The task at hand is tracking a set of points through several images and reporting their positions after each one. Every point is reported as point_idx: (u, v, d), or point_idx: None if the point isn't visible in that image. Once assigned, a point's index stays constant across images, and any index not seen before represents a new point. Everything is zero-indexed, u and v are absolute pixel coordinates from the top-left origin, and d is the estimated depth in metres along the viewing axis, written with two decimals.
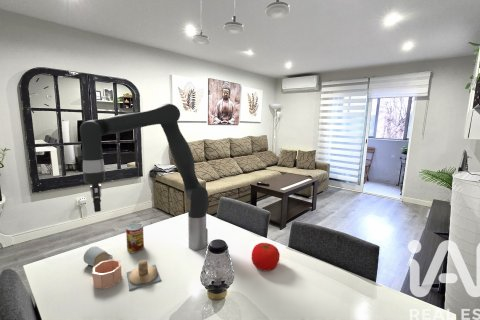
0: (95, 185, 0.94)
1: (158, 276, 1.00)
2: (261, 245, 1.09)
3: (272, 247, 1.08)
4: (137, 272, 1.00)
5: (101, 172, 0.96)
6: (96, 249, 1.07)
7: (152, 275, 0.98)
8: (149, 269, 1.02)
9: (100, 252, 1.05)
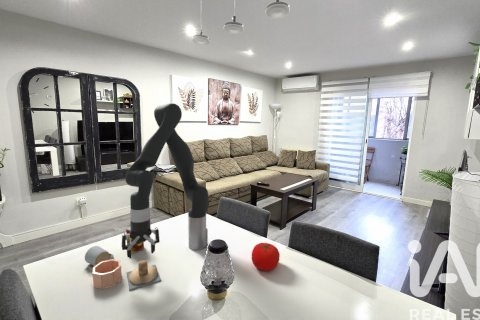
0: None
1: (158, 276, 1.00)
2: (261, 245, 1.09)
3: (272, 247, 1.08)
4: (137, 272, 1.00)
5: None
6: (97, 248, 1.07)
7: (152, 275, 0.98)
8: (149, 269, 1.02)
9: (101, 251, 1.06)
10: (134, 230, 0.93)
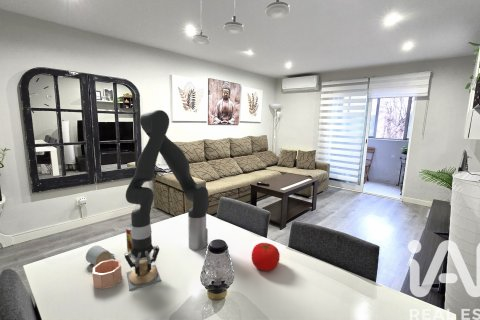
0: None
1: (158, 276, 1.00)
2: (261, 245, 1.09)
3: (272, 247, 1.08)
4: None
5: None
6: (98, 248, 1.08)
7: (152, 275, 0.98)
8: None
9: (102, 251, 1.06)
10: (136, 247, 0.94)
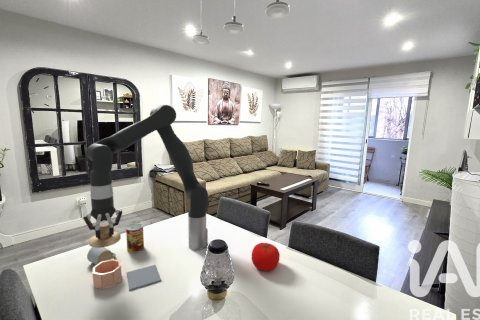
0: (113, 207, 0.95)
1: (158, 276, 1.00)
2: (261, 245, 1.09)
3: (272, 247, 1.08)
4: None
5: None
6: None
7: (114, 239, 0.94)
8: (112, 235, 0.97)
9: (103, 250, 1.07)
10: (95, 207, 0.89)
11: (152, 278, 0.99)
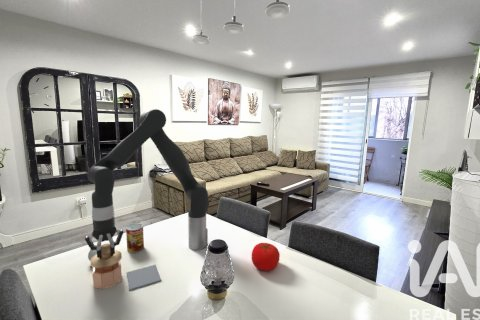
0: (114, 227, 0.96)
1: (158, 276, 1.00)
2: (261, 245, 1.09)
3: (272, 247, 1.08)
4: None
5: None
6: None
7: (115, 259, 0.95)
8: (113, 254, 0.98)
9: None
10: (96, 228, 0.90)
11: (152, 278, 0.99)
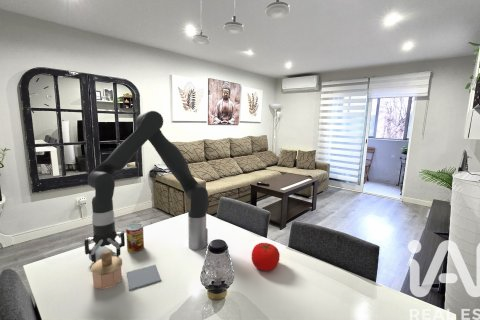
0: (115, 232, 0.96)
1: (158, 276, 1.00)
2: (261, 245, 1.09)
3: (272, 247, 1.08)
4: (101, 263, 0.97)
5: None
6: (101, 247, 1.09)
7: (116, 265, 0.95)
8: (114, 260, 0.99)
9: (105, 250, 1.07)
10: (97, 233, 0.91)
11: (152, 278, 0.99)
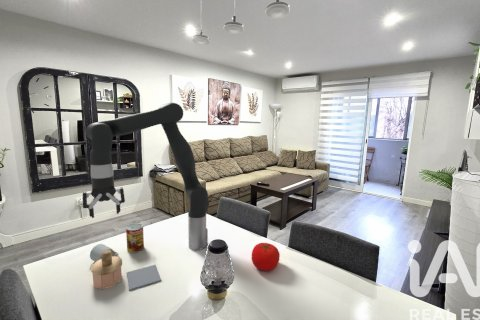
0: (114, 187, 0.94)
1: (158, 276, 1.00)
2: (261, 245, 1.09)
3: (272, 247, 1.08)
4: (101, 263, 0.97)
5: None
6: (102, 246, 1.09)
7: (116, 265, 0.95)
8: (114, 260, 0.99)
9: (106, 249, 1.08)
10: (95, 186, 0.88)
11: (152, 278, 0.99)
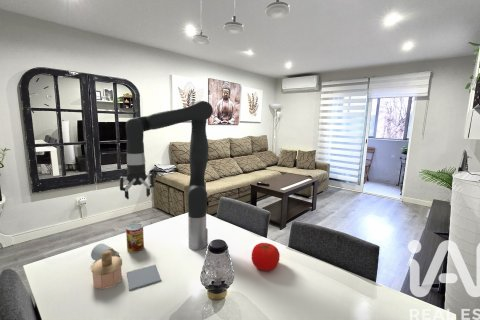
0: None
1: (158, 276, 1.00)
2: (261, 245, 1.09)
3: (272, 247, 1.08)
4: (101, 263, 0.97)
5: None
6: (103, 246, 1.10)
7: (116, 265, 0.95)
8: (114, 260, 0.99)
9: (107, 249, 1.08)
10: (131, 172, 1.04)
11: (152, 278, 0.99)
